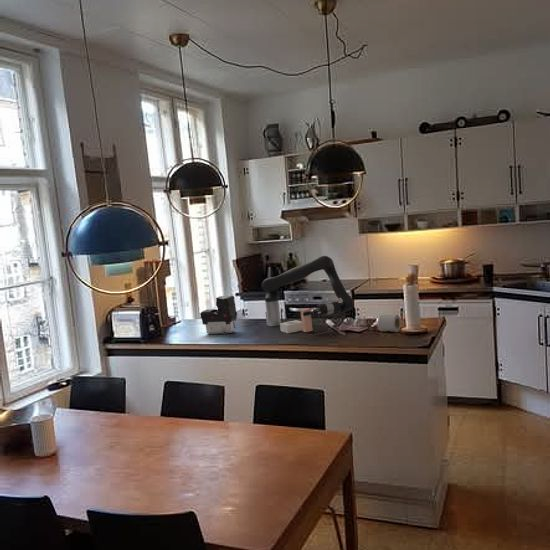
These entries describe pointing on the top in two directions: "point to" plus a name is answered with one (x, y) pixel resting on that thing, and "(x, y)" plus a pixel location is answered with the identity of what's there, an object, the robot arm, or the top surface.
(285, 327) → the white square socket block
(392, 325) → the toilet paper
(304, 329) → the tall brown pillar
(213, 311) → the bill acceptor
